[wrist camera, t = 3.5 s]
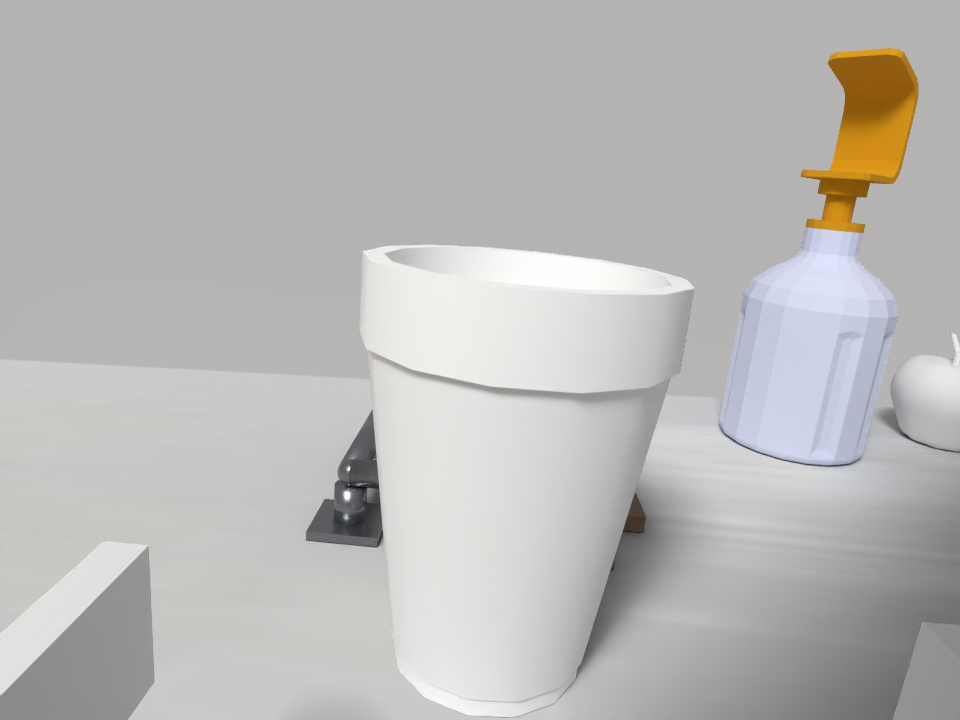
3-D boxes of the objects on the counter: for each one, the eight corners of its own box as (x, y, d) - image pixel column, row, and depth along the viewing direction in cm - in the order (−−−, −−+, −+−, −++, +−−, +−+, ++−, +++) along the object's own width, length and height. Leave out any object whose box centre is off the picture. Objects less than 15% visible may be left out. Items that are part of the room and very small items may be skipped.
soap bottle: (693, 430, 46) (763, 46, 40) (757, 411, 52) (828, 73, 46) (825, 480, 39) (934, 30, 33) (882, 451, 45) (984, 64, 39)
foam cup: (397, 550, 28) (417, 239, 25) (620, 592, 26) (673, 266, 23) (296, 721, 19) (306, 263, 16) (626, 798, 17) (715, 311, 14)
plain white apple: (908, 420, 53) (934, 322, 51) (1011, 453, 47) (1046, 345, 45) (859, 430, 50) (886, 325, 47) (966, 467, 44) (1001, 350, 42)
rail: (580, 457, 40) (587, 406, 39) (612, 570, 28) (623, 501, 27) (363, 436, 40) (366, 385, 39) (306, 540, 28) (307, 470, 27)
